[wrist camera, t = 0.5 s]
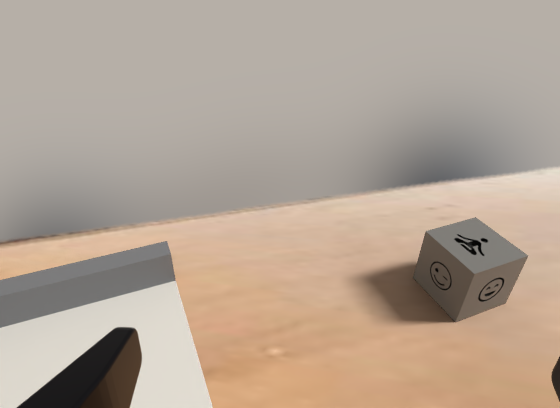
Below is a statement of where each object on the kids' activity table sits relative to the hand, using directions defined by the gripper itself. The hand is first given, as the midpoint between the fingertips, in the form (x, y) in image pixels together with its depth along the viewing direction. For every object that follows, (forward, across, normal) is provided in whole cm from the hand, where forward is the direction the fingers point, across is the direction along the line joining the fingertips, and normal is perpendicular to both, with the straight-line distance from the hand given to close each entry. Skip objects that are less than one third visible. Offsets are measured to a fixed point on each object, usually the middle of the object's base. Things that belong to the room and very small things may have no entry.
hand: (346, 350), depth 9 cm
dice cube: (+20, -13, +15) cm, 28 cm away
